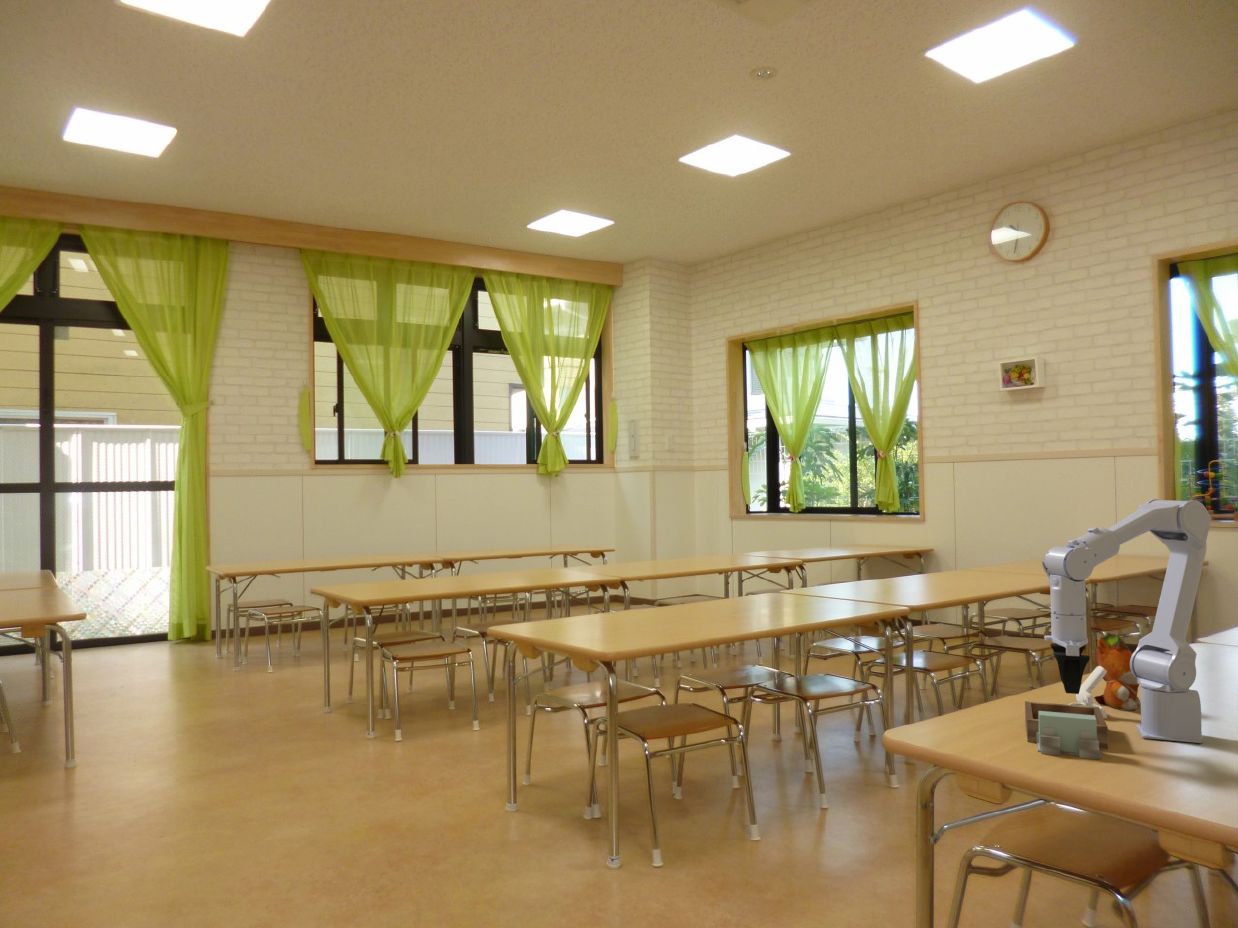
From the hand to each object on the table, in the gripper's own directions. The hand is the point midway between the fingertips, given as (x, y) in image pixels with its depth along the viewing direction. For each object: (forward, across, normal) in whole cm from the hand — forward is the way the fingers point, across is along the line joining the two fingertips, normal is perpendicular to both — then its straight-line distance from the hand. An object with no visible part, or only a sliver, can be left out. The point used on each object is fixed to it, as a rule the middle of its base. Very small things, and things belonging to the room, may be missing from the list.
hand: (1070, 688), depth 160 cm
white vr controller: (+11, -23, +4) cm, 26 cm away
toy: (+11, -33, +12) cm, 37 cm away
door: (+10, +4, -1) cm, 11 cm away
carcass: (+10, -3, -1) cm, 11 cm away
